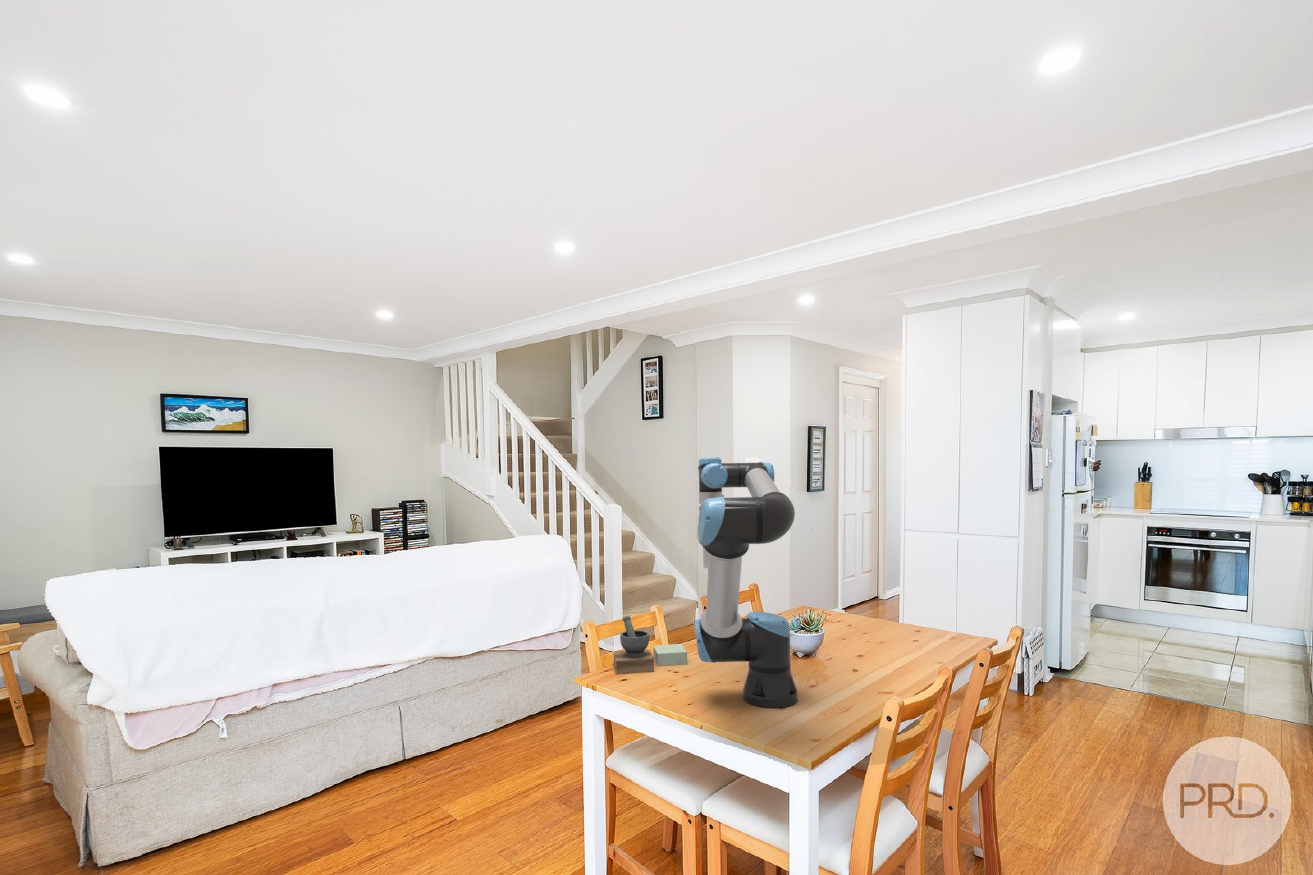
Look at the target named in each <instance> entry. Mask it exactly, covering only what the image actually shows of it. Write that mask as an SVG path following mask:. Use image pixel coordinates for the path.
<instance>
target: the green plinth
mask: <svg viewBox="0 0 1313 875" xmlns="http://www.w3.org/2000/svg"><path fill="white" fill-rule="evenodd" d="M652 652H653V655H652V657H653V659H654V661H655V662H654V663H656V666H657V667H665V666H680V665H681V666H683V665H688V651H687V649H686V648H685V646H684V645H683V644H682V643H677V644H676V643H675V644H674V643H673V644H659V645H655V644H654V645H653V648H652Z"/></svg>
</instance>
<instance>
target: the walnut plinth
mask: <svg viewBox="0 0 1313 875" xmlns="http://www.w3.org/2000/svg"><path fill="white" fill-rule="evenodd" d="M654 661H655V659H654V657H653V655H652V652H651V650H650V649H645V650H644V656H643V657H641V658H628V657H626V651H625V650H617V651H616V652H615V651H613V666H614V669H615V673H616V675H621V674H622V675H623V674H641V673H652V672H653V673H655V664H654V663H655V662H654Z"/></svg>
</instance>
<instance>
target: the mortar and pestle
mask: <svg viewBox="0 0 1313 875" xmlns="http://www.w3.org/2000/svg"><path fill="white" fill-rule="evenodd" d="M631 619H632V618H631V616H630V615H626V616H623V618H622V621H623V623H624V624H623V625H624V628H625V631H624V632H621V633H620V635H619V636H620V637H619V640H620V645H621V647H622V649H623V651H626V657H628V658H641V657H643V656H644V650H647V648H648V646H649V641H650V632H648V631H646V630H637V629H636V630H634V626H633V623H632V621H631Z"/></svg>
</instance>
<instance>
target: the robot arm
mask: <svg viewBox="0 0 1313 875" xmlns="http://www.w3.org/2000/svg"><path fill="white" fill-rule="evenodd" d="M697 470H698V488H699V490H698V503H699V505H700V506H699V507H698V508H699V510H698V513H699V514H698V519H697V540H698V544H699V545H701V546H702V565H703V567H702V568H703V569H707V584H706V586H707V587H706V609H705V610H704V611H703V612H702V614H701V615H700V618H698V619H696V620H695V621H694V630H695V639H696V647H697V648H696V649H697V654H698V658H699V660H700V661H701V662H703V663H713V664H714V663H739V662H744V663H745V662H748V670H747V671H748V672H747V675H746V678H745V680H744V685H743V688H742V689H743V690H742V695H743V696H742V698H743V699H744V701H745V702H747V703H748V704H751V705H753V706H757V707H761V708H769V709H771V708H773V709H774V708H785V707H790V706H793V705H795V704H796V703H797V702H798V699H799V698H798V693H799V692H798V689H797V686H796V684H795V680H794V677H793V673H792V670H791V633H790V632H791V630H790V624H789V621H788V619H786V618H785V617H783V616H781V615H779V614H774V613H771V612H765V611H750V612H748V613H747V615H746V618H742V616H741V615H740V613H739V600H740V599H739V598H740V589H741V588H740V586H741V576H742V575H741V574H742V572H741V571H742V560H743V559H742V558H743V557H744V556H745V555H746V554H747V553H748V551H749V549H750V548H749V546H750V545H761V544H770V543H772V542H776V541H778V540H779V539H781V538H782V537H783V536H785V535H786V534H787V533H788V532H789V531H790V529H791V527H792V526H793V523H794V521H795V515H796V512H795V508H794V504H793V502H792V501H791V499H790V498H789V497H788V496H787V495H786V494H784V493H783V492H781V491H780V489H779V488H778V487H777V485H776V483H775V469H774V466H773V464H772V463H770V462H763V461H759V462H724V463H723V462H722V459H721V457H718V456H717V457H715V456H714V457H699V459H698V467H697ZM724 488H747V490H748V491H749V494H750V497H749V496H746V497H745V496H744V497H743V496H741V497H738V496H737V497H724V494H723V489H724Z"/></svg>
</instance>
